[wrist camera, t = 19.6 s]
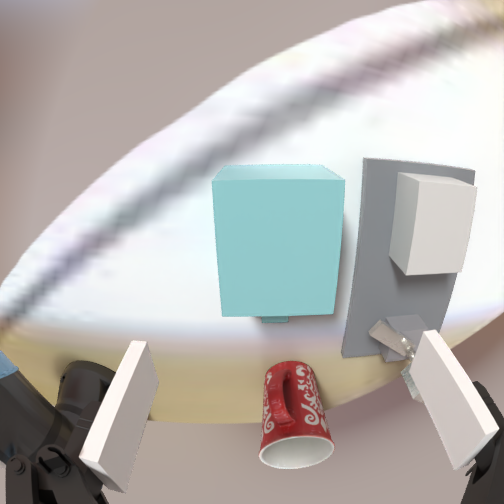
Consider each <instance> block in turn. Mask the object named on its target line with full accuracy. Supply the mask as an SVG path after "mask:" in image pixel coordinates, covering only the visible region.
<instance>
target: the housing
mask: <svg viewBox="0 0 504 504" xmlns="http://www.w3.org/2000/svg"><path fill="white" fill-rule="evenodd" d="M474 178H475V170H471V169H467V168H460V167H453V166H446V165H438V164H430V163H422V162H412V161H402V160H391V159H378V158H363V175H362V193H361V208H360V220H359V231H358V241H357V251H356V259H355V268H354V276H353V283H352V290H351V297H350V304H349V310H348V316H347V322H346V328H345V334H344V339H343V344H342V350H341V354H342V357H343V358H345V357H357V356H367V355H376V354H382V356H383V358H384V360H385V362H391V361H399V360H405V359H408V357H407V355H405V356H403V355H401V354H399V353H398V352H396V351H395V350H393V349H391V348H390V347H388V346H386V345H385V344H383V343H381V342H380V341H378V340H377V339H375V338H373V337H372V336H370V334H369V332H368V331H369V330H370V329H371V328H372V327H373V326H374V325H375V324H376V323H377V322H378V321H379V320H382V321H383V322H385V323H386V324H388V325H389V326H391V327H392V328H394V329H395V330H397V331H398V332H400V333H401V334H402V335H404V336H405V337H407V338H408V339H410V340H411V341H413V342H414V344H415V347H414V350H415V351H416V352H417V349H418V346H419V343H420V340H421V337H422V334H423V331H430V330H436V331H437V332H438V333H439V332H440V329H441V326H442V323H443V320H444V317H445V314H446V311H447V308H448V305H449V301H450V298H451V295H452V291H453V288H454V284H455V280H456V277H457V273H458V272H461V271H462V267H463V263H464V259H465V255H466V250H467V246H468V241H469V236H470V231H471V226H472V220H473V214H474V208H475V201H476V194H477V187H476V186H474Z"/></svg>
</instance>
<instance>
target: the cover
mask: <svg viewBox="0 0 504 504" xmlns="http://www.w3.org/2000/svg"><path fill="white" fill-rule="evenodd" d="M212 192H213V208H214V222H215V237H216V250H217V263H218V275H219V287H220V298H221V309H222V316H225V317H244V316H262V323H282V322H288V316H298V315H324V314H333V313H334V305H335V297H336V289H337V280H338V271H339V261H340V250H341V239H342V226H343V211H344V193H345V180H344V179H343V178H341V177H340V176H338V175H337V174H335V173H334V172H332V171H331V170H329V169H328V168H326V167H324V166H323V165H233V166H224V167H223V168H222V170H221V171H220V172H219V173H218V174H217V175H216V177H215V178H214V179H213V180H212Z"/></svg>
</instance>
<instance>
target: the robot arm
mask: <svg viewBox="0 0 504 504" xmlns="http://www.w3.org/2000/svg"><path fill="white" fill-rule="evenodd" d="M18 369H19V368H18V367H17V366H15V365H14V364H13V363H12V362H11V361H10V360H9V359H8V358H7V357H6V355H5V354H4V353H3V352H2V351H1V350H0V468H6V504H109V503H108V501H107V499H106V497H105V495H104V493H103V492H102V491H101V489H102V485H103V484H104V485H105V486H106V487H107V488H108V489H110V490H114V491H118V492H121V493H126V490H127V487H128V483H129V479H130V476H131V472H132V469H133V465H134V462H135V458H136V455H137V451H138V448H139V444H140V441H141V438H142V435H143V431H144V428H145V425H146V422H147V418H148V415H149V412H150V409H151V406H152V403H153V400H154V396H155V393H156V390H157V387H158V384H159V380H158V377H157V374H156V371H155V367H154V364H153V361H152V357H151V354H150V351H149V347H148V344H147V342H146V341H132V342H131V344H130V346H129V348H128V350H127V352H126V354H125V356H124V358H123V360H122V362H121V364H120V366H119V368H118V370H117V372H116V373H115V372H113V371H111V370H110V369H108V368H106V367H104V366H101V365H99V364H96V363H93V362H89V361H74V362H72V363H70V364H69V365H68V366H67V367H66V369H65V371H64V372H63V374H62V376H61V381H60V386H59V392H58V399H57V404H56V406H55V407H53V406H52V405H51V404H50V403H49V402H48V401H47V400H46V399H45V398H44V397H43V396H42V395H41V394H40V393H39V392H38V391H37V390H36V389H35V387H34V386H33V385H32V384H31V383H30V382H29V381H28V380H27V379H26V378H25V377H24V376H23V374H22V373H21V372H20V371H19V370H18ZM409 373H410V375H411V377H412V379H413V381H414V383H415V385H416V387H417V389H418V391H419V393H420V395H421V397H422V399H423V401H424V403H425V405H426V407H427V409H428V411H429V414H430V416H431V418H432V420H433V422H434V424H435V426H436V429H437V431H438V433H439V435H440V438H441V440H442V442H443V445H444V447H445V449H446V452H447V454H448V457H449V459H450V461H451V464H452V466H453V469H454V470H457V469H459V468H462V467H464V466H467V465H468V464H469V463H470V462H471V461H472V460H473V459H474V458H475V460H476V463H475V464H474V465H473V466H472V467H471V468H470V470H469V471H467V473H466V476H467V475H469V473H471V472H472V473H471V476H470V480H469V482H468V485H467V488H466V491H465V493H464V496H463V499H462V501H461V504H504V418H503V416H502V414H501V412H500V411H499V409H498V407H497V406H496V404H495V403H494V401H493V399H492V398H491V397H490V395H489V393H488V392H487V390H486V388H485V387H484V386H482V385H481V384H480V383H479V382H478V381H475V382H471V381H470V379H469V377H468V376H467V374H466V373H465V371H464V370H463V368H462V367H461V365H460V364H459V362H458V361H457V359H456V358H455V357H454V355H453V354H452V352H451V350H450V349H449V348H448V346H447V345H446V343H445V342H444V340H443V339H442V338H441V336H440V335H439V333H438V332H437V331H436V330H430V331H423V334H422V337H421V340H420V343H419V346H418V349H417V352H416V354H415V357H414V360H413V363H412V365H411V368H410V370H409Z"/></svg>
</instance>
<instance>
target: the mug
mask: <svg viewBox="0 0 504 504" xmlns="http://www.w3.org/2000/svg"><path fill="white" fill-rule="evenodd" d="M334 450H335V445H334V442H333V441H332V440H331V436H330V432H329V428H328V424H327V421H326V417H325V413H324V410H323V406H322V402H321V398H320V395H319V391H318V387H317V384H316V380H315V376H314V373H313V370H312V369H311V368H310V367H309V366H308V365H306V364H304V363H302V362H298V361H286V362H282V363H279V364H277V365H275V366H273V367H272V368H270V369H269V370H268V371H267V373H266V375H265V381H264V401H263V419H262V434H261V449H260V452H259V458H260V460H261V461H262V462H263V463H265V464H267V465H269V466H272V467H276V468H282V469H295V468H303V467H308V466H311V465H315V464H317V463H320V462H322V461H324V460H325V459H327V458H328V457H329V456H331V454H332V453H333V452H334Z"/></svg>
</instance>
